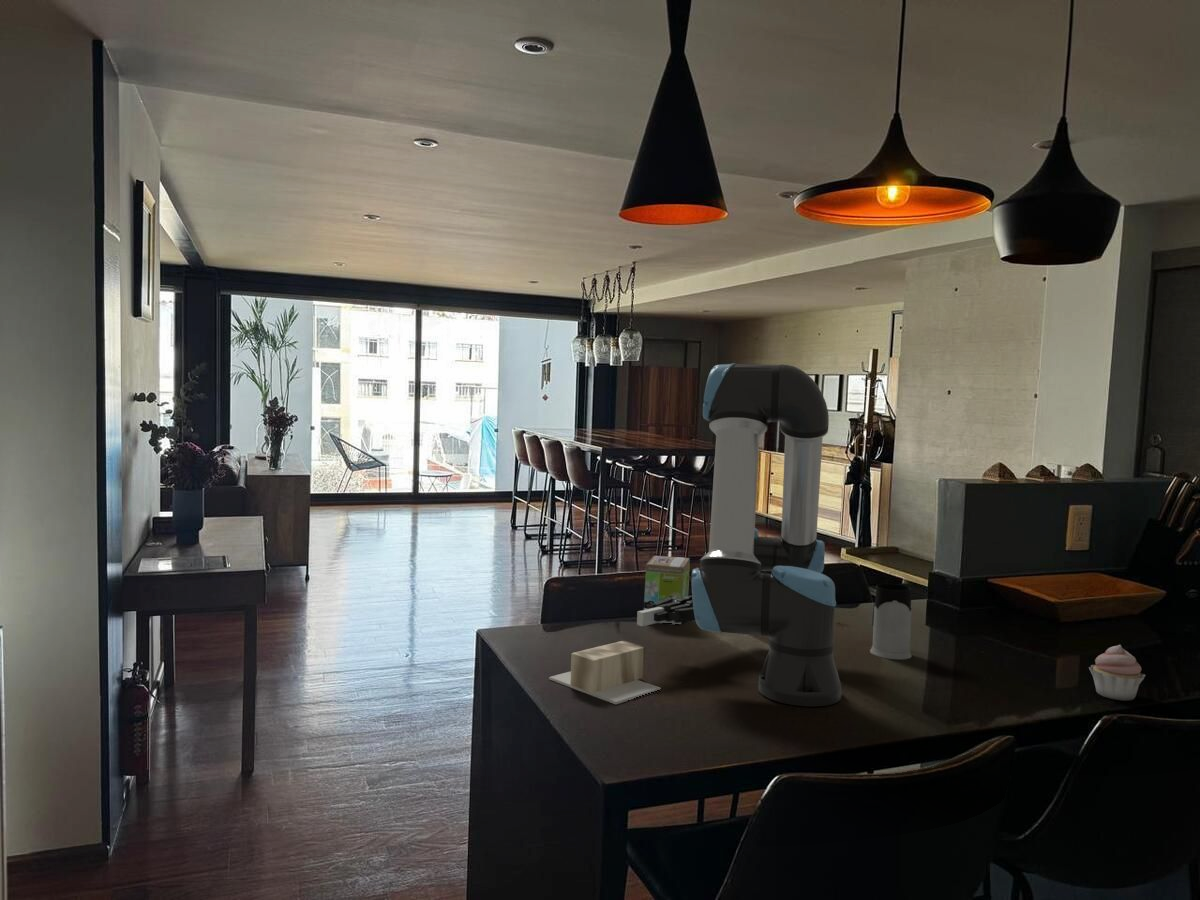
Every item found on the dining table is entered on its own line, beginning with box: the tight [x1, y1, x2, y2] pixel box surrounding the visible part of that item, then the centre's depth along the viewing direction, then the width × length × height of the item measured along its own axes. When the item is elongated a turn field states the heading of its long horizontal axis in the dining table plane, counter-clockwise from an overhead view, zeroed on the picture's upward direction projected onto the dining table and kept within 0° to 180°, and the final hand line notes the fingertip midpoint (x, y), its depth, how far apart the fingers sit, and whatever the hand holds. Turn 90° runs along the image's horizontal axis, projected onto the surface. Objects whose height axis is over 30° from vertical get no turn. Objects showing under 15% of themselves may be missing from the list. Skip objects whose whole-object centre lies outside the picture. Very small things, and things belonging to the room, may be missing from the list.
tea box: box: [643, 555, 691, 625], centre depth 214 cm, size 15×10×15 cm, turn 168°
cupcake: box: [1088, 644, 1146, 701], centre depth 161 cm, size 9×9×10 cm
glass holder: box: [869, 583, 913, 660], centre depth 189 cm, size 9×14×15 cm, turn 166°
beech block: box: [570, 640, 646, 693], centre depth 160 cm, size 6×6×14 cm
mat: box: [548, 670, 661, 705], centre depth 159 cm, size 18×12×1 cm, turn 44°
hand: (640, 618), depth 166 cm, fingers closed
